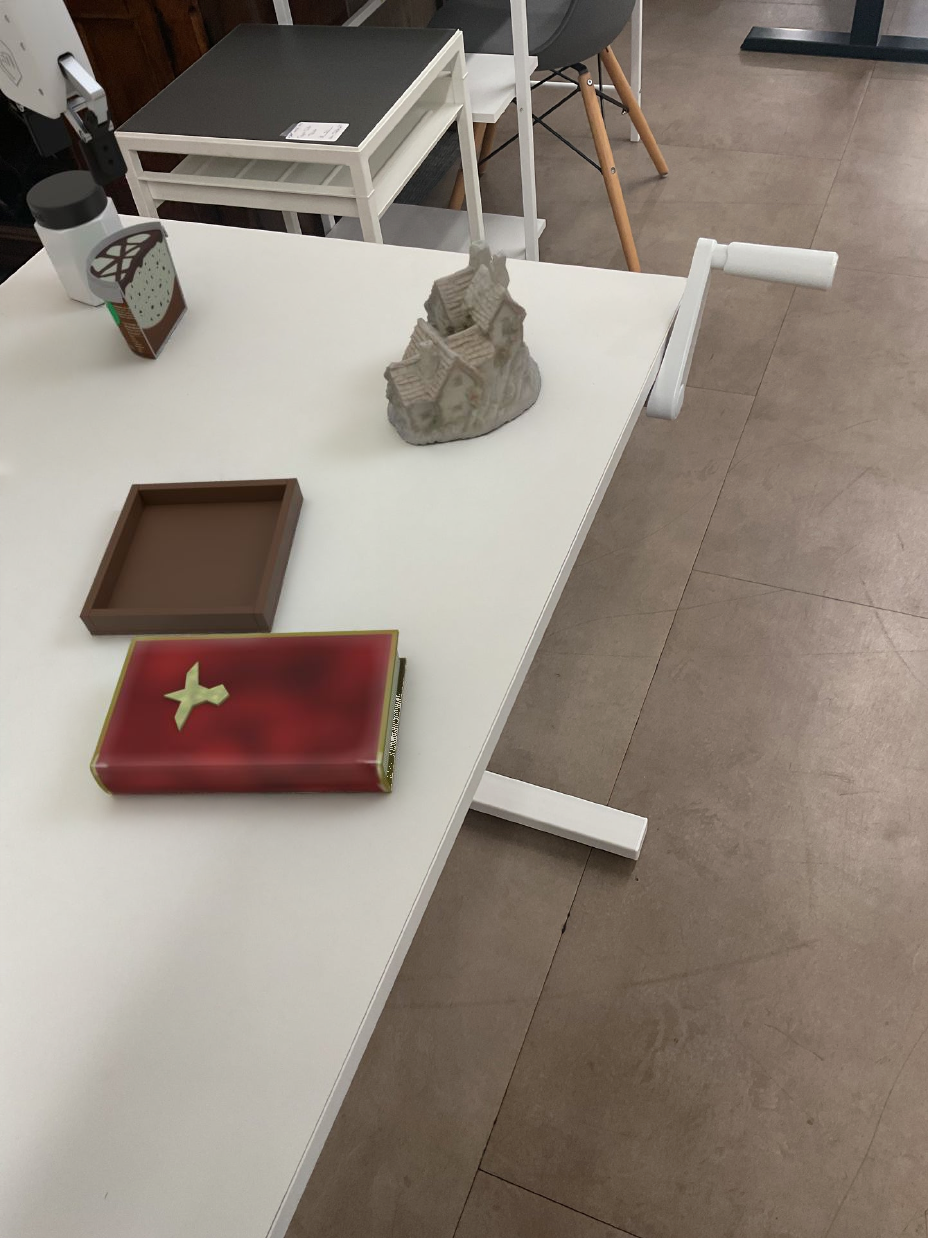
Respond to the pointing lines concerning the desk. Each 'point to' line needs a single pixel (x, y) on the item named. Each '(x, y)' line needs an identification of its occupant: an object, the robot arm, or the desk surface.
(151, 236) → the food container
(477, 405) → the ceramic cottage
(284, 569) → the tray
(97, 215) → the jar
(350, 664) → the hardcover book
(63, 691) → the desk surface
